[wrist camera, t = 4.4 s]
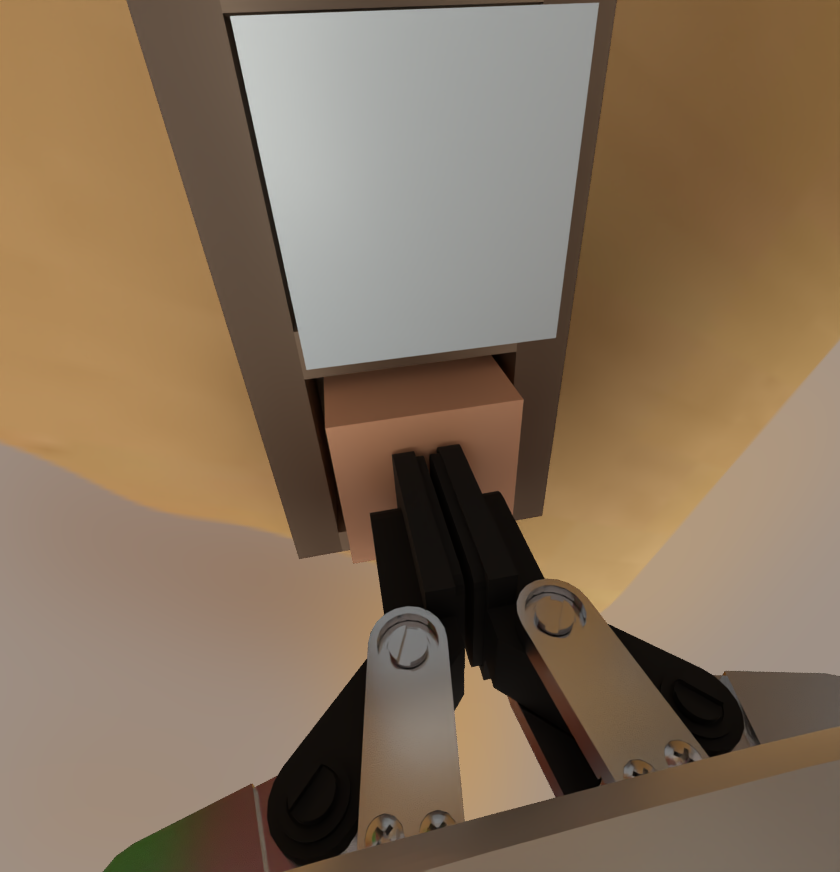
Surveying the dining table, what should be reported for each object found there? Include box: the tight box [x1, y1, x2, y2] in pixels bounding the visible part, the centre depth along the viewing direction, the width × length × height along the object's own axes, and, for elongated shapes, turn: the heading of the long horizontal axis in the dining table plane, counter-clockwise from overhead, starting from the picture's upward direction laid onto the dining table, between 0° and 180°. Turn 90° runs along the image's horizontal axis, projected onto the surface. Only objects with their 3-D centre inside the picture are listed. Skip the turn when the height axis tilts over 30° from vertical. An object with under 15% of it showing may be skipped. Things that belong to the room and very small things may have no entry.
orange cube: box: [323, 355, 524, 563], centre depth 13 cm, size 4×4×4 cm
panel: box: [127, 0, 617, 559], centre depth 11 cm, size 8×20×4 cm, turn 3°
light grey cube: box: [230, 3, 599, 370], centre depth 8 cm, size 4×4×4 cm
